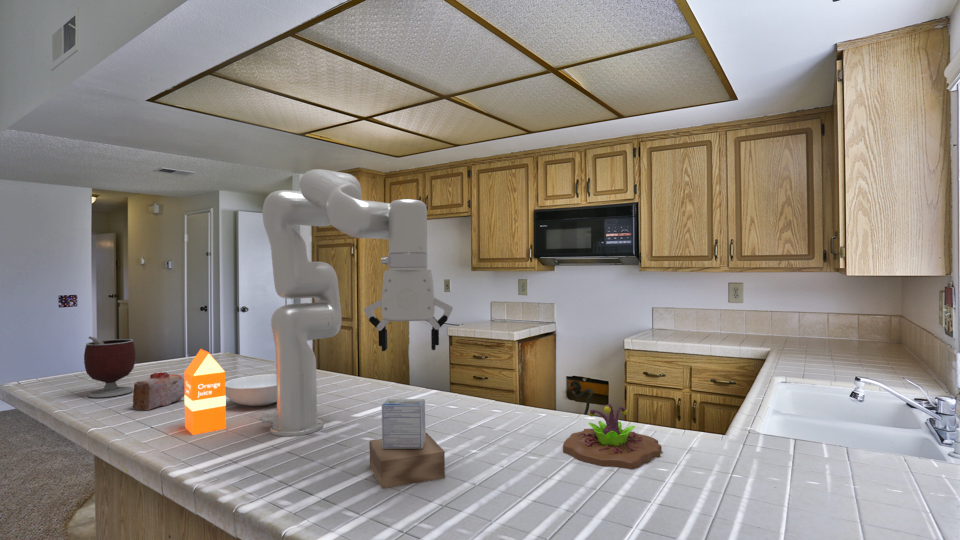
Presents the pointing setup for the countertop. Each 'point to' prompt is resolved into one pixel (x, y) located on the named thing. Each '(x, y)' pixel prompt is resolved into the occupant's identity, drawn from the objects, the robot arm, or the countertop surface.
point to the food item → (158, 391)
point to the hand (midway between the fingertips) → (409, 349)
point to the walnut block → (406, 463)
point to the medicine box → (403, 424)
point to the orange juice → (204, 395)
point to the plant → (611, 443)
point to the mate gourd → (109, 364)
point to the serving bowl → (253, 390)
